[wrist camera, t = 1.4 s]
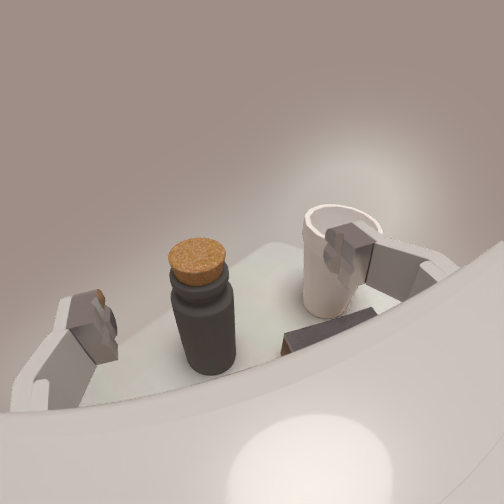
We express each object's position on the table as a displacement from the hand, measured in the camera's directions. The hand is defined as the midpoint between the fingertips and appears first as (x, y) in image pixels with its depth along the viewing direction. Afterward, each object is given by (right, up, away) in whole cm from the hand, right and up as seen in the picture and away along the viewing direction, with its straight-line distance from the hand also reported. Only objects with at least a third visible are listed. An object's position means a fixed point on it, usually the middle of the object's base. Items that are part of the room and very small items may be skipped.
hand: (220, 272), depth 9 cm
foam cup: (+11, -7, +29) cm, 32 cm away
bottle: (-4, -12, +22) cm, 25 cm away
